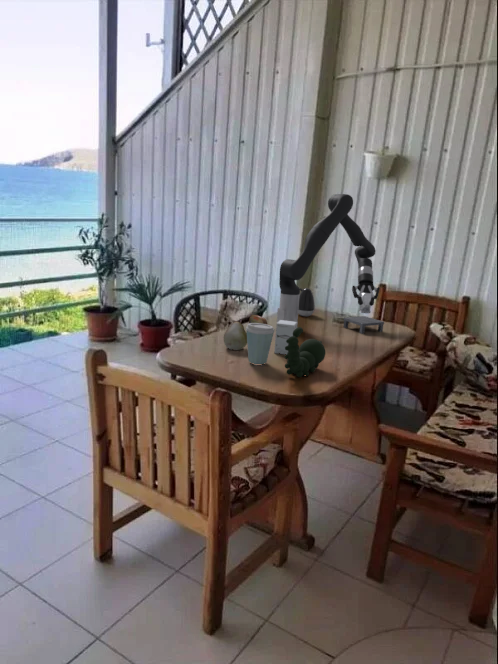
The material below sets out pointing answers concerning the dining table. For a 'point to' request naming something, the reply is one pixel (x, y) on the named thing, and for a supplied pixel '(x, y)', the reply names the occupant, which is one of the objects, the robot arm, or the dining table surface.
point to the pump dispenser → (306, 302)
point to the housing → (365, 302)
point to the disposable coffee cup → (259, 342)
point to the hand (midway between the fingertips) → (366, 304)
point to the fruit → (235, 336)
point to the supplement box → (283, 335)
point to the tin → (257, 319)
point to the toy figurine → (303, 354)
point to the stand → (363, 322)
